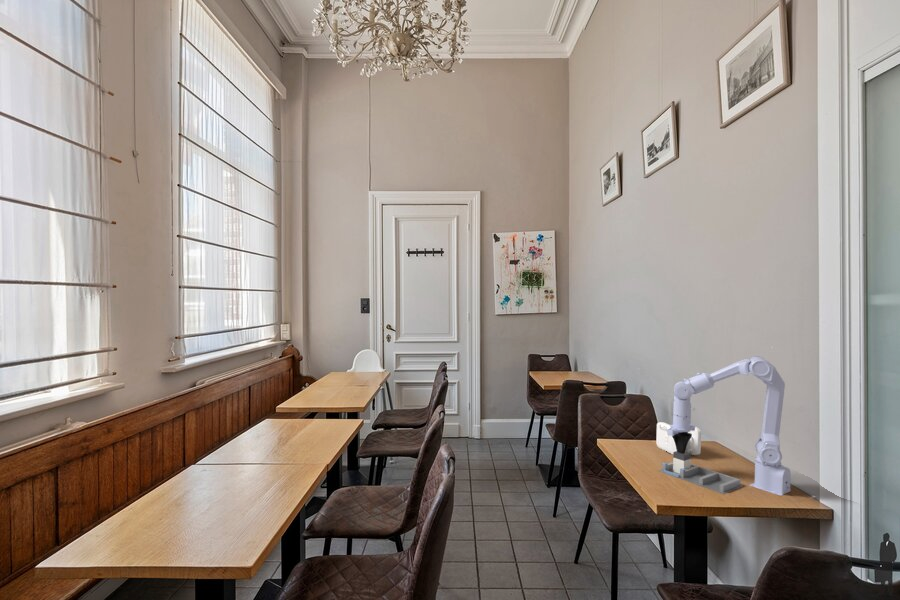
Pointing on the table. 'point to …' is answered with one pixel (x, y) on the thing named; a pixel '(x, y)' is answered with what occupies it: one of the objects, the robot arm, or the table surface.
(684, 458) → the white upright block
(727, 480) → the parts fixture tray
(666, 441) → the cable organizer
